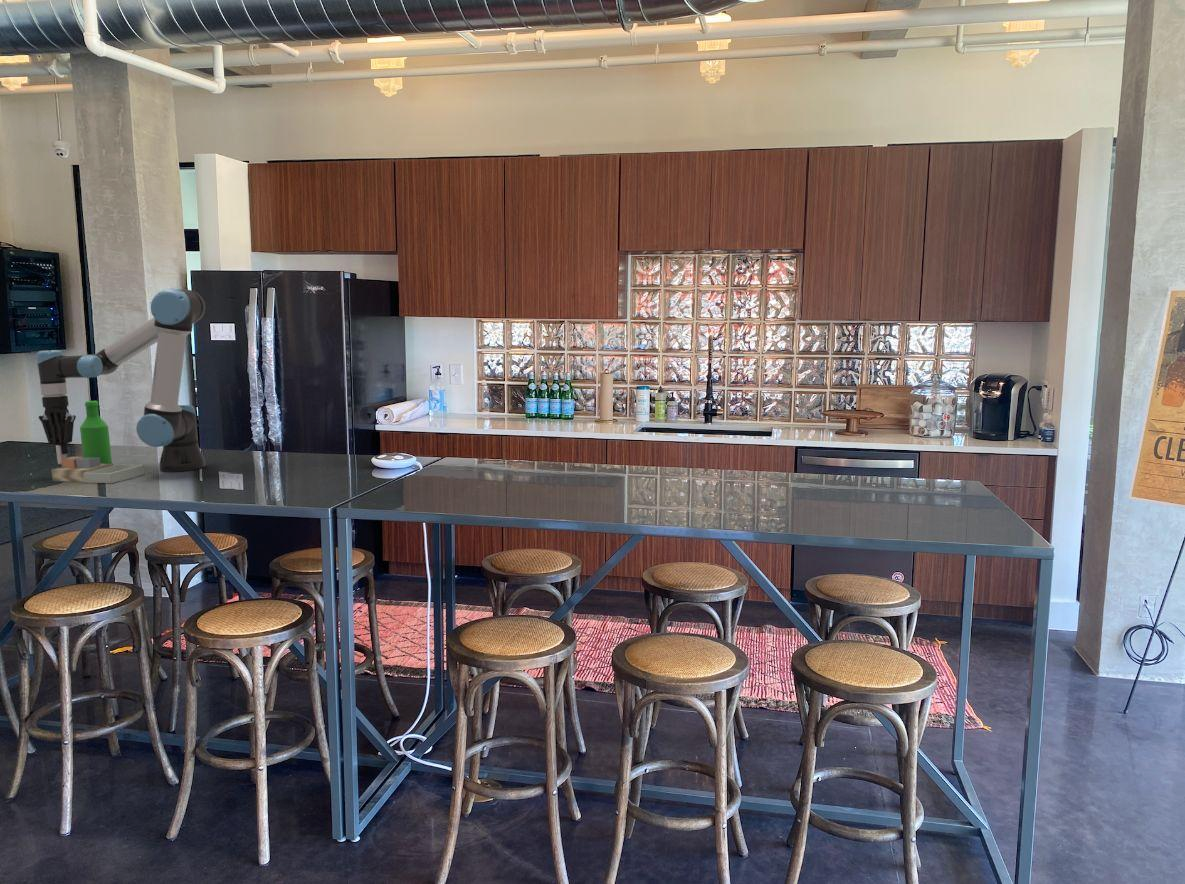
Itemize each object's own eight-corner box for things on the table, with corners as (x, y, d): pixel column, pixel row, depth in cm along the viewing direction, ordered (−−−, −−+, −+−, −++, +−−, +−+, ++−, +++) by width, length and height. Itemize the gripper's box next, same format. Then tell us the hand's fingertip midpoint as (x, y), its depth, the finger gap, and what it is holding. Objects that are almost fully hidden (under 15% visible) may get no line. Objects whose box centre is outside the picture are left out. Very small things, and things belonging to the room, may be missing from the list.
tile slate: (100, 465, 298) (99, 457, 297) (89, 468, 293) (88, 459, 293) (88, 465, 299) (87, 456, 298) (77, 468, 294) (76, 459, 294)
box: (144, 474, 301) (143, 464, 301) (111, 483, 286) (110, 473, 285) (119, 474, 303) (117, 464, 303) (84, 483, 288) (83, 473, 287)
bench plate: (114, 475, 302) (113, 463, 301) (88, 482, 290) (86, 470, 289) (79, 474, 304) (78, 463, 304) (52, 481, 293) (51, 469, 292)
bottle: (103, 471, 310) (95, 402, 306) (79, 471, 310) (71, 402, 306) (117, 466, 318) (110, 399, 314) (94, 466, 319) (86, 399, 315)
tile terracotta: (85, 465, 299) (84, 456, 299) (74, 467, 294) (73, 459, 294) (73, 465, 300) (72, 456, 300) (62, 467, 295) (61, 459, 295)
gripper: (79, 394, 297) (87, 461, 300) (47, 394, 299) (55, 461, 303) (62, 396, 289) (70, 465, 293) (29, 396, 292) (37, 465, 296)
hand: (62, 463), depth 298 cm, fingers closed
